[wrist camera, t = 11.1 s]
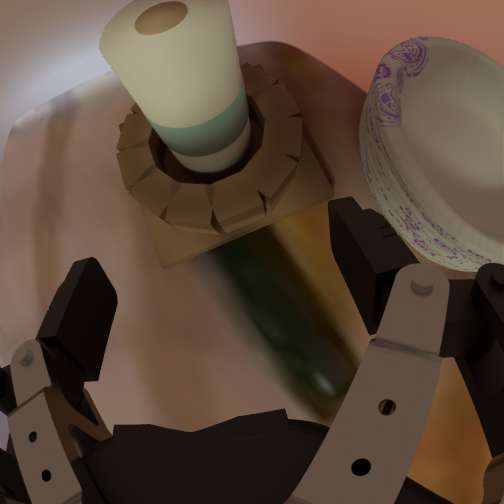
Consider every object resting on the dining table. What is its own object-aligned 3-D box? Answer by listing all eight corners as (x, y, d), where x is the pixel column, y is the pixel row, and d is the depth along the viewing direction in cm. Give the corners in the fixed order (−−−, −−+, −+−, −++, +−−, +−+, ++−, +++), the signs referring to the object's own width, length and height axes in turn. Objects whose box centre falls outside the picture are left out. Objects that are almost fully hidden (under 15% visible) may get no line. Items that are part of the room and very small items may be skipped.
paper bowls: (346, 77, 22) (365, 7, 14) (494, 120, 20) (538, 77, 12) (339, 263, 20) (377, 244, 12) (509, 284, 18) (577, 276, 10)
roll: (238, 109, 21) (206, -30, 9) (266, 167, 20) (252, 26, 8) (172, 137, 21) (93, 17, 9) (194, 197, 20) (103, 88, 8)
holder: (260, 71, 22) (257, 38, 18) (331, 197, 20) (343, 176, 16) (124, 130, 22) (101, 106, 18) (167, 268, 20) (143, 262, 17)
